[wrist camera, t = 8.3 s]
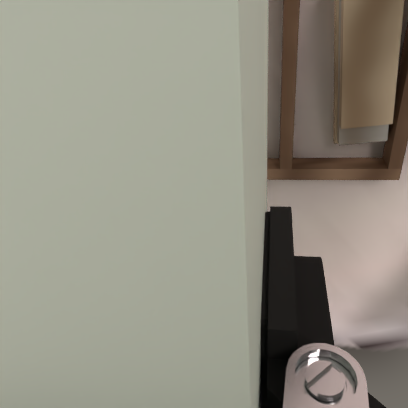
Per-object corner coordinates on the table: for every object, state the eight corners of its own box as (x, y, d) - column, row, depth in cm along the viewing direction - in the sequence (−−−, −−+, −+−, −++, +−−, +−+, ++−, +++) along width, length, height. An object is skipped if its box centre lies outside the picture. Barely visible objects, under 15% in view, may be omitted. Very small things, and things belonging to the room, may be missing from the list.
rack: (451, -120, 23) (465, -125, 21) (392, 168, 33) (399, 179, 31) (192, -90, 25) (186, -92, 24) (212, 168, 36) (209, 179, 34)
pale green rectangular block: (268, -55, 9) (235, -41, 2) (265, 336, 17) (257, 649, 9) (144, -43, 10) (-306, 11, 2) (197, 331, 17) (137, 623, 10)
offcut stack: (400, -71, 25) (414, -73, 22) (383, 133, 32) (393, 149, 30) (334, -58, 26) (341, -59, 23) (332, 138, 33) (337, 154, 30)
